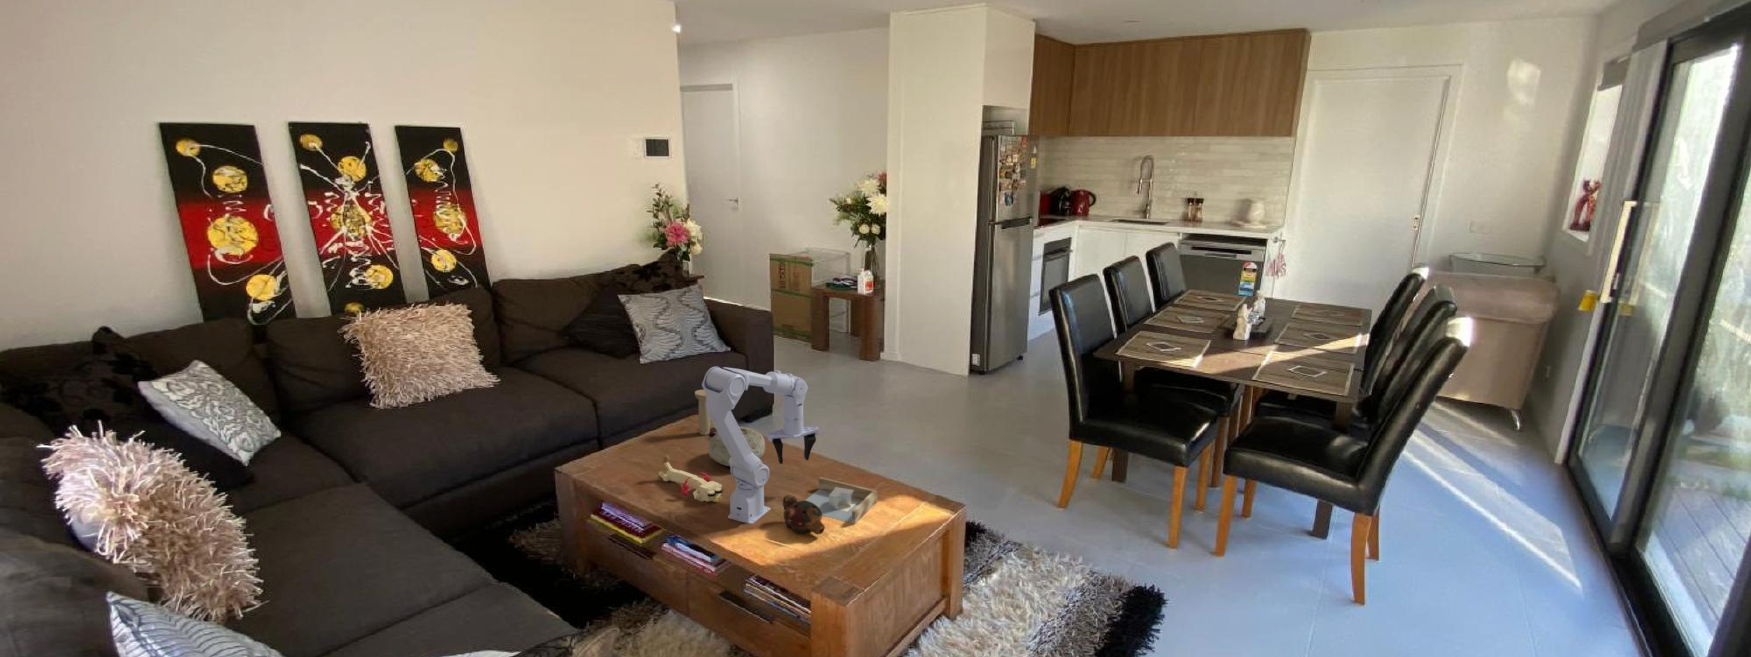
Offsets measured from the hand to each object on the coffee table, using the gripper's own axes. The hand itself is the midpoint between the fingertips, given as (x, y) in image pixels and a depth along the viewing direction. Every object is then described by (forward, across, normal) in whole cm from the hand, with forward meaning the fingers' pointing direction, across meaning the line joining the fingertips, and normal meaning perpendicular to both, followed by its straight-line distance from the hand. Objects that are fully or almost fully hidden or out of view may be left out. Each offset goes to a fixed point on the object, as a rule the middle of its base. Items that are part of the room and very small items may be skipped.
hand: (793, 460), depth 218 cm
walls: (+10, +9, -12) cm, 18 cm away
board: (+10, +9, -12) cm, 18 cm away
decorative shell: (+10, -12, +26) cm, 31 cm away
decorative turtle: (+10, -3, -21) cm, 24 cm away
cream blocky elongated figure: (+10, -28, +10) cm, 32 cm away
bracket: (+10, +10, -13) cm, 19 cm away
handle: (+10, -18, +50) cm, 55 cm away
